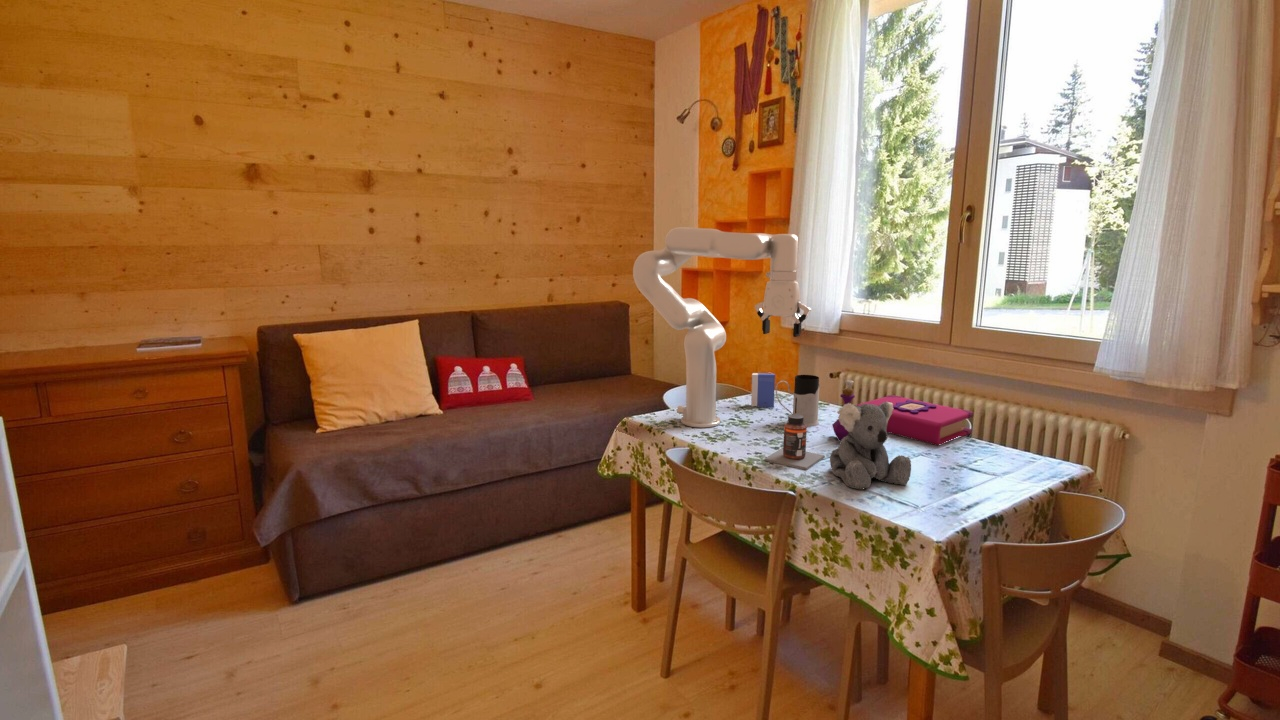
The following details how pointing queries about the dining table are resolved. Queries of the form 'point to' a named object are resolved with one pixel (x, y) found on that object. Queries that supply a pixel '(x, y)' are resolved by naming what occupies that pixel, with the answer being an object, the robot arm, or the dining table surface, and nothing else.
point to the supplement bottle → (795, 437)
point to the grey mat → (803, 463)
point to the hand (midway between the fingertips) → (781, 334)
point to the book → (924, 419)
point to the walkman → (763, 389)
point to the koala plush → (867, 448)
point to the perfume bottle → (847, 398)
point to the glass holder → (805, 398)
